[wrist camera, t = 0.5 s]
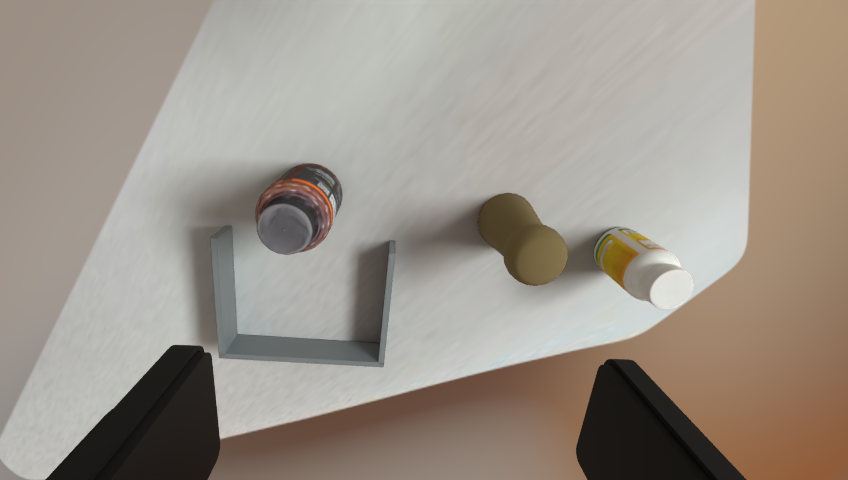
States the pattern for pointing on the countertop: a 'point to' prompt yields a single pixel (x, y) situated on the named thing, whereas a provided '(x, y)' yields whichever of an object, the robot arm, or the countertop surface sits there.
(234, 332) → the fence
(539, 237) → the cork
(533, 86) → the countertop surface
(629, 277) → the supplement bottle
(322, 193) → the supplement bottle
